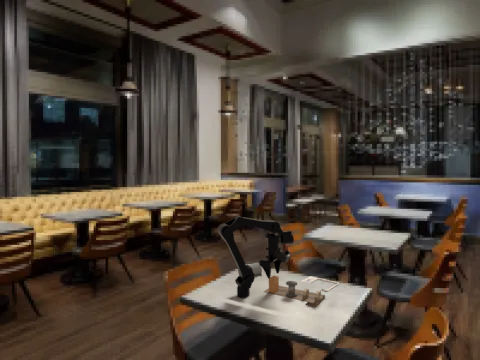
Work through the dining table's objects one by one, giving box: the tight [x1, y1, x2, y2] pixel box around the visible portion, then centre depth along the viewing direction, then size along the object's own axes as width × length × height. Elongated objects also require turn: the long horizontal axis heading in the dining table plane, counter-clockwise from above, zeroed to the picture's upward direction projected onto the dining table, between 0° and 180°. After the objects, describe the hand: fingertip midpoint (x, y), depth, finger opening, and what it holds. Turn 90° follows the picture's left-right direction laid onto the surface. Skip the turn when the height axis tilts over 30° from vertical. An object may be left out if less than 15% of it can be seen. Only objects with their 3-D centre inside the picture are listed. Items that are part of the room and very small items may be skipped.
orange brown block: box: [268, 275, 280, 293], centre depth 175 cm, size 3×5×7 cm, turn 146°
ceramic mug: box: [248, 262, 263, 279], centre depth 201 cm, size 11×8×8 cm
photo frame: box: [300, 276, 341, 292], centre depth 188 cm, size 15×1×18 cm
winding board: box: [263, 280, 326, 308], centre depth 171 cm, size 12×28×8 cm, turn 56°
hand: (273, 275), depth 175 cm, fingers open, 9 cm apart
